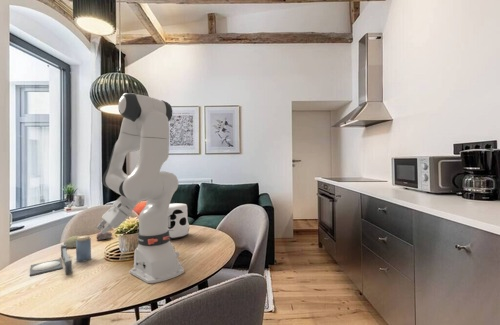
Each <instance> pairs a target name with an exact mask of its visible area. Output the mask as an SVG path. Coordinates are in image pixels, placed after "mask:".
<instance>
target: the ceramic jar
mask: <svg viewBox="0 0 500 325" xmlns="http://www.w3.org/2000/svg"><path fill="white" fill-rule="evenodd" d="M79 236H80V237H77V240H76V247H75V249H76V250H75V257H76V259H75V260H76V262H77V263H78V262H80V263H81V262H86V261H90V260H91V259H92V246H91V245H92V242H91V240H92V239H91V236H90V235H79Z"/></svg>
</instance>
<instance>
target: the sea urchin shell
mask: <svg viewBox="0 0 500 325" xmlns="http://www.w3.org/2000/svg"><path fill="white" fill-rule="evenodd" d="M80 236H81V235H73V236H69V237H68V238H66V239H65V240H64V242H63V245H67V248H73V249H74V248H76V240H77V237H80Z"/></svg>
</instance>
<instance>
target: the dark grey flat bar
mask: <svg viewBox="0 0 500 325" xmlns="http://www.w3.org/2000/svg"><path fill="white" fill-rule="evenodd" d="M60 254H61V255H60V256H61V258H62V261H63V263H64V264H63V265H64V271H65V272H64V274H65V275H66V276H67V275H71V274H73V264H72V263H73V262H72V259H71V258H69V253H68V247H67V245H64V244H61V245H60Z"/></svg>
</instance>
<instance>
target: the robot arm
mask: <svg viewBox="0 0 500 325" xmlns="http://www.w3.org/2000/svg"><path fill="white" fill-rule="evenodd" d="M118 112H119V114H120V115H121V116H122V117H123V119H122V122H121V126H120V131H119V135H118V139H117V140H116V141H115V143H114V145H113V148H112V151H111V154H110V158H109V162H108V166H107V168H106V170H105V171H104V173H103V175H102V179H101V182H102V184H103V186H104V187H105V188H107V189H109V190H112V191H113V192H114V193H116V194H118V195H120V196H119V197H118V198H117V199H116V200H115V201H114V202H113V203H112V206H110V208H108V210H107V211H106V212H104V213H103V215H102V216H101V219H102V220H101V221H100V223H99V224H98V225H97V226H96V229H97V230H100V232H101V233H102V234H105V233H106V232H107V231H110V230H111V229H112V228H113V229H117V228H118V227H119V226H120V225H121V224H123V223H124V221H126V219H127V218H129V217H131V216H132V214H133V210H134V209H135V207H136V206H137V205H138V204H139V203H140V202H143V201H144V202H145V201H146V203H145V206H144V208H142V210H141V211H140V212H139V214H138V215H139V216H138V235H137V242H138V243H137V244H138V245H137V247H136V248H135V249H134V252H133V253H134V254H133V255H134V256H133V267H132V268H130V270H129V273H130V275H132V276H134V277H137V278H138V279H140V280H141V281H144V282H145V283H147V284H155V283H160V282H164V281H168V280H171V279H173V278H175V277H179V276H180V275H182V274H184V273H185V269H184V267H183V265H182V264H181V263H180V261H179V260H178V258H180V252H179V251H178V250H177V251H175V248H176V247H175V245H174V246H173V244H172V242H171V239H170V234H169V230H168V209H169V205H170V204H171V201H172V198H173V195H174V194H175V192H176V191H177V190H178V187H179V179H178V177H177V176H176V175H175V174H174V173H173V172H168V171H164V170H163V171H161V169H162V166H163V165H164V163H165V162H166V161H167V160H168V158H169V153H170V150H169V149H170V123H169V122H170V121H171V119H172V118H173V108H172V105H171V103H169V102H167V101H164V100H161V99H158V98H154V97H151V96H148V95H142V94H137V93H133V92H132V93H131V92H129V93H128V92H125V93H123V94H122V95H121V96H120V98H119V100H118ZM138 151H139V154H138V159H137V161H136V164H135V166H134V169H133V170H132V172H131V173H130V174H129V175H128V174H126V173H125V172H124V170H123V166H124V163H125V159H126V156H127V154H129V153H132V152H134V153H135V152H138ZM103 226H104V227H105V228H104V229H103Z"/></svg>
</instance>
